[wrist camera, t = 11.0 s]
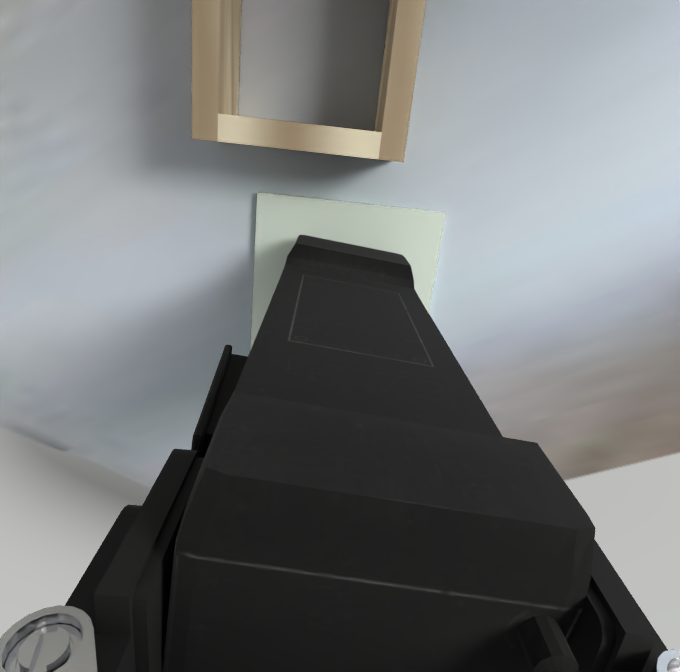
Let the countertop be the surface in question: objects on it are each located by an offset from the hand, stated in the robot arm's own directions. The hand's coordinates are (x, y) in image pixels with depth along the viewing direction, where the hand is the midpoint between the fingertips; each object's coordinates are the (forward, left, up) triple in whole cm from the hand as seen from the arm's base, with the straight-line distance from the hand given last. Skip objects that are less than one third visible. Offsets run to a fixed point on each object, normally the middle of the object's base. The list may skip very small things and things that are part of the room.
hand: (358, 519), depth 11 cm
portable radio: (+1, 0, -20) cm, 20 cm away
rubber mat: (0, 0, -21) cm, 21 cm away
